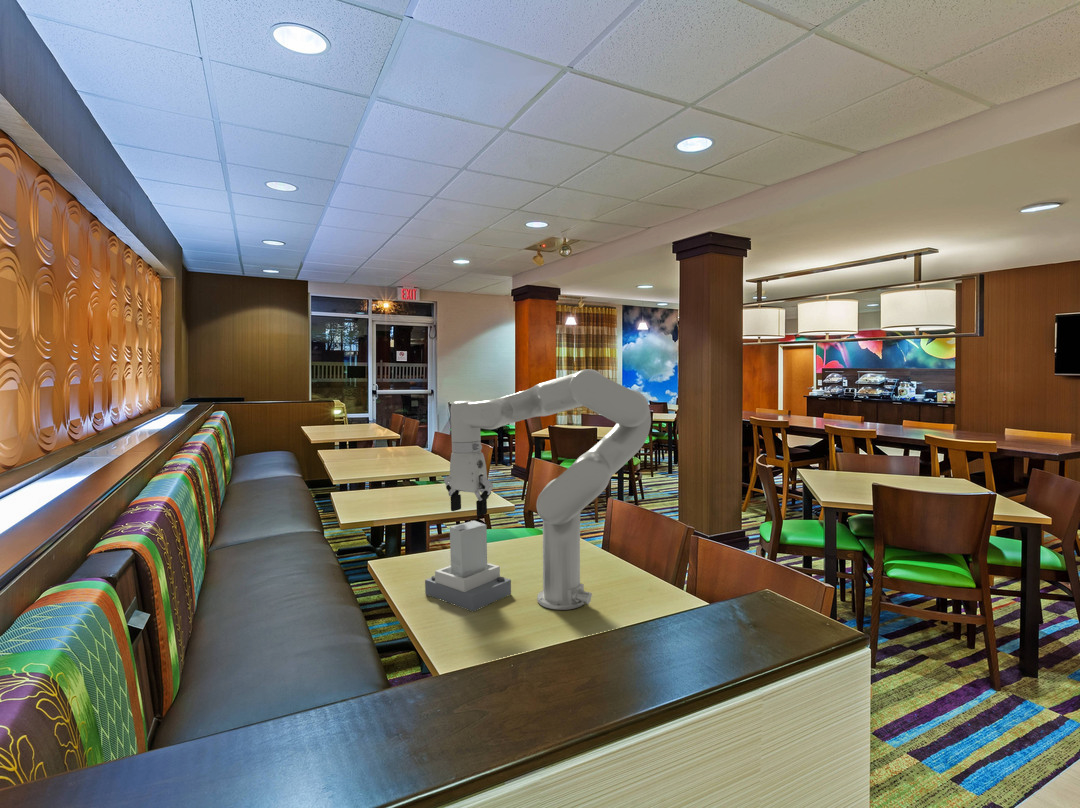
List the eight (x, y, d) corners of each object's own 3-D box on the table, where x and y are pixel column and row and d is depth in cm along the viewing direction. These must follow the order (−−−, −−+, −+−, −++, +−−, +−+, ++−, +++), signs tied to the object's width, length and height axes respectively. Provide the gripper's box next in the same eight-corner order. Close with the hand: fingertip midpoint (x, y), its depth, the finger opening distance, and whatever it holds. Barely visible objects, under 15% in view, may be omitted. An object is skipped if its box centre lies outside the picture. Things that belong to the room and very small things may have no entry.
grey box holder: (511, 594, 149) (510, 568, 149) (473, 612, 138) (472, 584, 138) (463, 579, 161) (463, 555, 160) (425, 594, 150) (424, 568, 149)
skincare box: (475, 573, 154) (474, 519, 153) (488, 579, 150) (488, 523, 149) (449, 581, 148) (448, 525, 148) (462, 587, 144) (461, 529, 143)
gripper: (500, 448, 145) (502, 513, 146) (454, 444, 156) (456, 505, 157) (479, 451, 139) (482, 520, 140) (433, 447, 150) (436, 511, 151)
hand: (468, 512), depth 148 cm, fingers open, 9 cm apart
